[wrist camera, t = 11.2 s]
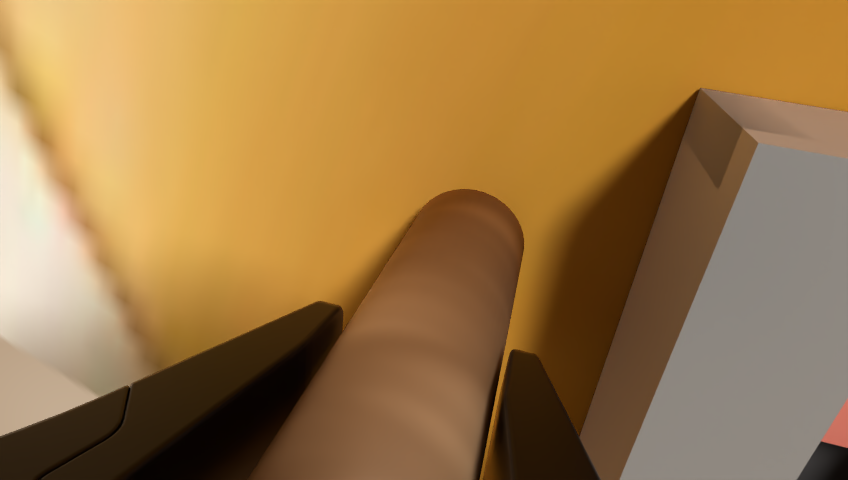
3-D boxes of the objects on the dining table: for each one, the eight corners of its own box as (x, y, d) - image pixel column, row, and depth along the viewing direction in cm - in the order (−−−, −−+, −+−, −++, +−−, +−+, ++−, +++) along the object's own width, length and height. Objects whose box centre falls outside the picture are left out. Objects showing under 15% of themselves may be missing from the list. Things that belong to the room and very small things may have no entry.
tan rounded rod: (534, 202, 12) (368, 1109, 2) (511, 301, 13) (340, 1166, 4) (419, 179, 12) (-101, 876, 3) (407, 276, 14) (11, 997, 4)
